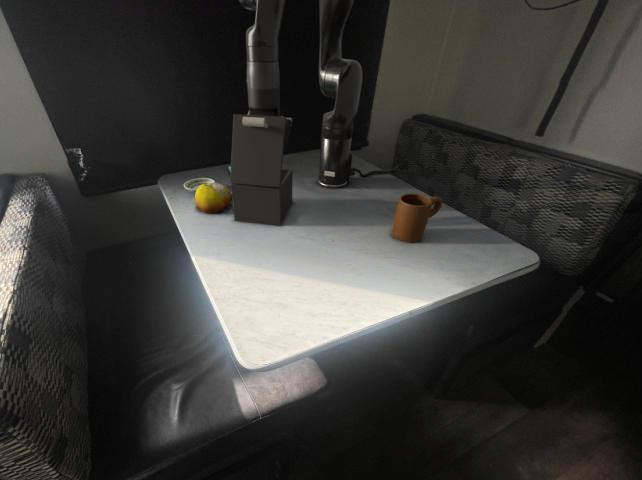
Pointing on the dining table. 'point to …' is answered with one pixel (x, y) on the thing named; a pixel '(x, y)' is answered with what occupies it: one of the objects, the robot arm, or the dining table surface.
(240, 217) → the dark gray cube box
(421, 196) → the mug
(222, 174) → the dining table surface
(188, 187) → the saucer
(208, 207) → the fruit
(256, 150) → the lid
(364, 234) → the dining table surface
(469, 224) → the dining table surface
